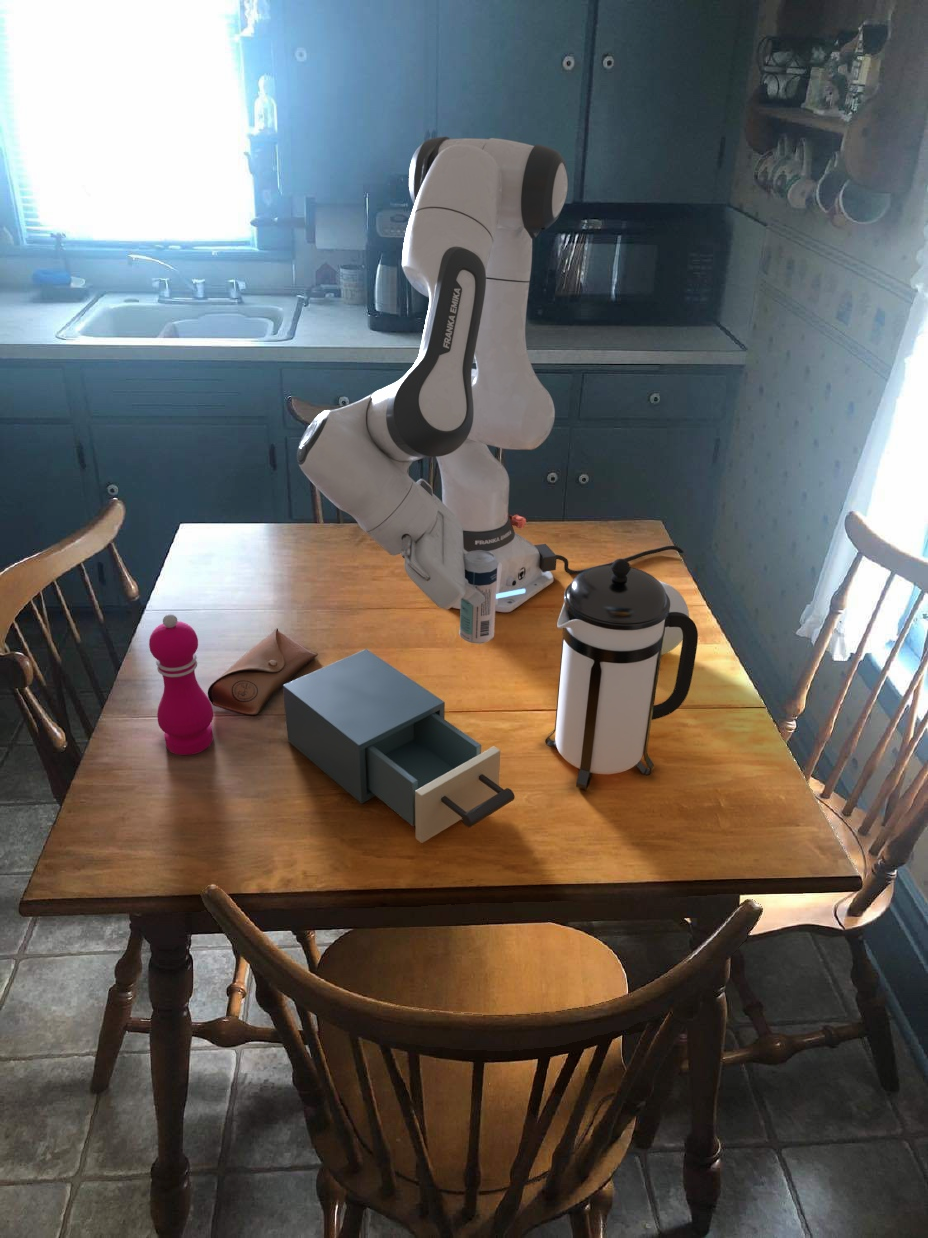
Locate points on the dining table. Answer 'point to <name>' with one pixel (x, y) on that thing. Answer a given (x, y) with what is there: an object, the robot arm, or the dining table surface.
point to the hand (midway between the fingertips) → (480, 589)
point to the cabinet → (352, 714)
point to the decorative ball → (676, 605)
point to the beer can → (484, 575)
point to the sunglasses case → (259, 674)
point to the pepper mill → (181, 689)
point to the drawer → (435, 776)
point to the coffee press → (615, 668)
